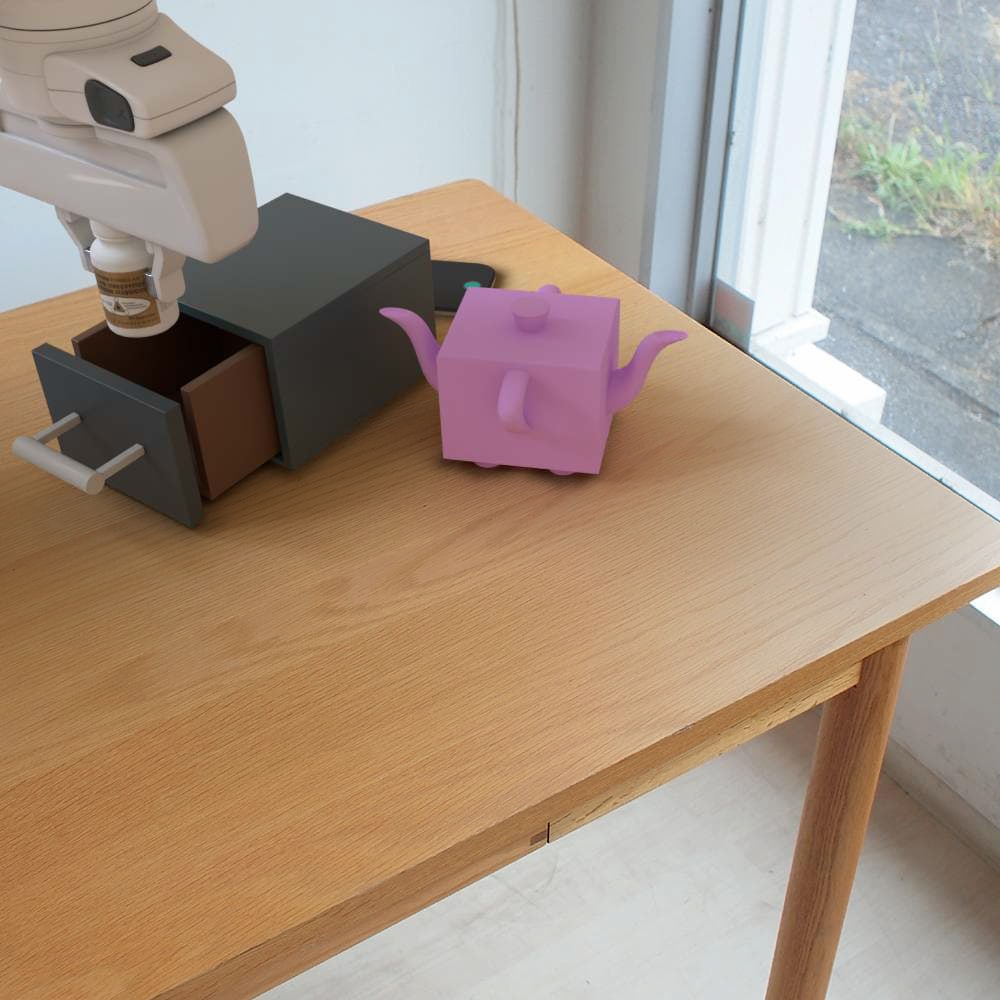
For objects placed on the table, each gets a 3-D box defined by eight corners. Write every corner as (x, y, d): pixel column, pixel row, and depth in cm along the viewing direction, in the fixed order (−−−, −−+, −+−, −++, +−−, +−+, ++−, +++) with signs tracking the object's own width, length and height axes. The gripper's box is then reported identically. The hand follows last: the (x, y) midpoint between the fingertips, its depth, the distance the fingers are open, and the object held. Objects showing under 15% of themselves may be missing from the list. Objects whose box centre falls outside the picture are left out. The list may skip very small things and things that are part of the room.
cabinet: (293, 475, 88) (271, 339, 81) (155, 410, 95) (124, 279, 88) (439, 368, 98) (429, 239, 91) (304, 316, 104) (286, 191, 98)
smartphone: (479, 311, 102) (294, 296, 105) (480, 321, 102) (296, 306, 105) (499, 263, 108) (324, 251, 110) (500, 273, 108) (325, 260, 111)
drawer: (134, 570, 80) (102, 453, 74) (5, 498, 86) (-33, 384, 80) (346, 417, 92) (331, 306, 86) (220, 363, 97) (199, 257, 92)
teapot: (576, 365, 97) (577, 231, 91) (682, 458, 88) (692, 317, 81) (389, 429, 92) (375, 292, 85) (482, 536, 83) (474, 391, 76)
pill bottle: (95, 336, 80) (65, 220, 76) (128, 300, 84) (100, 187, 79) (161, 343, 80) (135, 226, 75) (192, 306, 83) (168, 192, 78)
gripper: (-82, 39, 74) (-14, 259, 83) (166, 115, 64) (213, 356, 73) (10, 7, 78) (65, 220, 87) (257, 74, 68) (292, 307, 77)
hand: (135, 283), depth 80 cm, fingers closed on pill bottle, 4 cm apart
